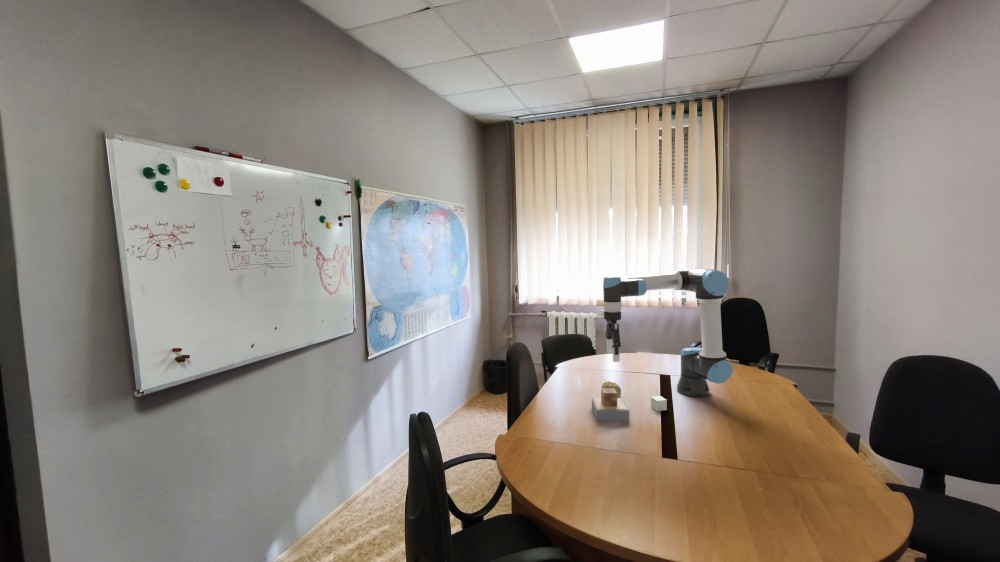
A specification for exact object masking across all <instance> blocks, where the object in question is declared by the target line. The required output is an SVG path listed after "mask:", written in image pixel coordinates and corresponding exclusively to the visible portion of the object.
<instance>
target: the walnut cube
mask: <svg viewBox="0 0 1000 562" xmlns="http://www.w3.org/2000/svg"><path fill="white" fill-rule="evenodd" d="M600 395H601V396H600V398H601V401H602V404H603V406H617V392H616V390H615V388H602V387H600Z"/></svg>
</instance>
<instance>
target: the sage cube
mask: <svg viewBox="0 0 1000 562" xmlns="http://www.w3.org/2000/svg"><path fill="white" fill-rule="evenodd" d="M667 400H668V399H666V398H664V397H663V396H662V395H655V396H650V407H651V408H652V409H653V410H654V411H656V412H661V411H668V407H667V406H668V404H667V403H668V401H667Z"/></svg>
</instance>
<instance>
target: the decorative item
mask: <svg viewBox="0 0 1000 562" xmlns="http://www.w3.org/2000/svg"><path fill="white" fill-rule="evenodd" d="M601 388H615V390H616V392H617V398H622V397H621V396H622V395H621V394H622V388H621V386H620V385H619V384H617V383H616V382H612V381H604V383H602V385H601Z"/></svg>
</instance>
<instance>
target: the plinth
mask: <svg viewBox="0 0 1000 562" xmlns="http://www.w3.org/2000/svg"><path fill="white" fill-rule="evenodd" d="M625 402H626V401H625V400H624V399H623V397H621V398H617V406H603V404H602V401H601V397H591V409H592V412H593V414H594V417H595V420H596V422H630V409H629V408H628V406H627V405H626V403H625Z"/></svg>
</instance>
